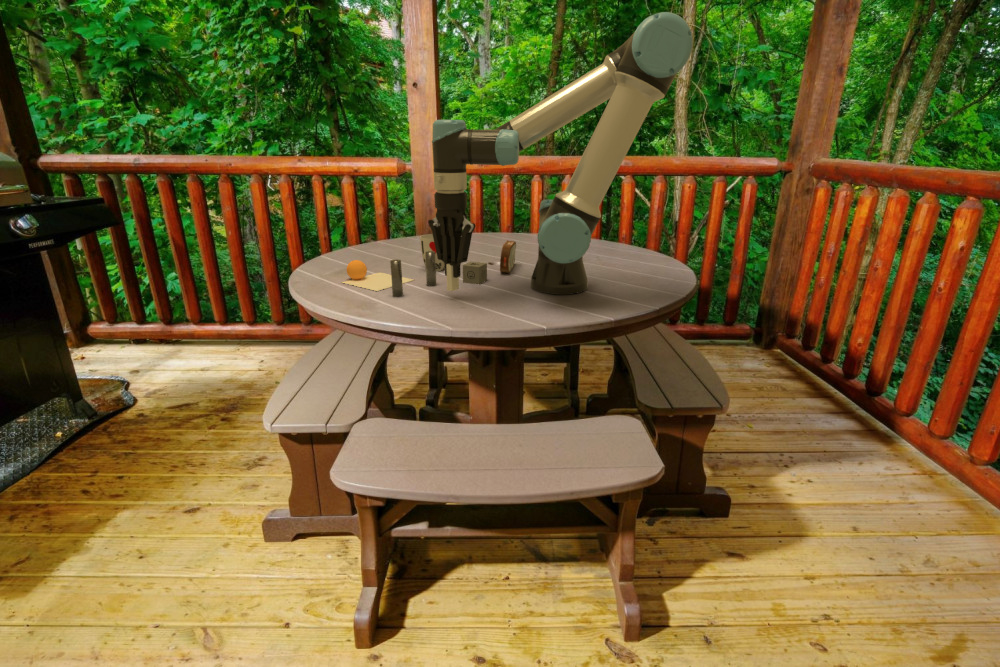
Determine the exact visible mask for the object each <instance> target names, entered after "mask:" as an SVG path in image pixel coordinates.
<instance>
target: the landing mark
mask: <svg viewBox="0 0 1000 667" xmlns="http://www.w3.org/2000/svg"><path fill="white" fill-rule="evenodd" d="M414 281H415V279H413V278H410V277H404V276H402V285H404V284H408V283H411V282H414ZM343 283H345V284H344V285H347V284H349V285H348V286H351V285H354V286H353V287H356V286H357V287H356V288H360V287H362V288H361V289H364V288H366V289H365V290H368V289H370V290H369V291H372V290H374V291H373V292H376V291H377V292H380V290H381V291H384V290H387V289H390V288H392V279H391V274H389V273H384V272H380V271H379V272H375V273H373V274H368V275H365V277H364V278H362V279H360V280H354V279H352V278H351V279H349V280H345V281H342V282H341V284H343ZM383 289H384V290H383Z"/></svg>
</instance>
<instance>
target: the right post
mask: <svg viewBox="0 0 1000 667" xmlns="http://www.w3.org/2000/svg"><path fill="white" fill-rule="evenodd" d="M425 258H426V267H425V276H426V278H425V279H426V286H427V287H435V286H437V271H436V263H435V252H434V251H427V252H425Z"/></svg>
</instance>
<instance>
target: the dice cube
mask: <svg viewBox="0 0 1000 667" xmlns="http://www.w3.org/2000/svg"><path fill="white" fill-rule="evenodd" d="M486 280H487V281H488V263H487V262H479V261H469V262H465V263H464V264H463V265H462V283H465V284H471V285H478V284H479V285H481V284H483V283H485V282H487V281H486ZM484 281H485V282H484Z"/></svg>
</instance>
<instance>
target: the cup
mask: <svg viewBox="0 0 1000 667" xmlns="http://www.w3.org/2000/svg"><path fill="white" fill-rule="evenodd" d="M419 239H420V240H419V241H420V242H419V243H420V248H421V254H422V256H421V257H422V260H423V263H424V267H425V268H426V258H425V252H427V251H434V252H435V263H436V272H441V270H442V271H443V270H445V264H444V262H443V261H442V260H439V259H438V258H437V253H436V248H435V244H434V239H433V234H432V233H430V234H423V235H420V236H419Z"/></svg>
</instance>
